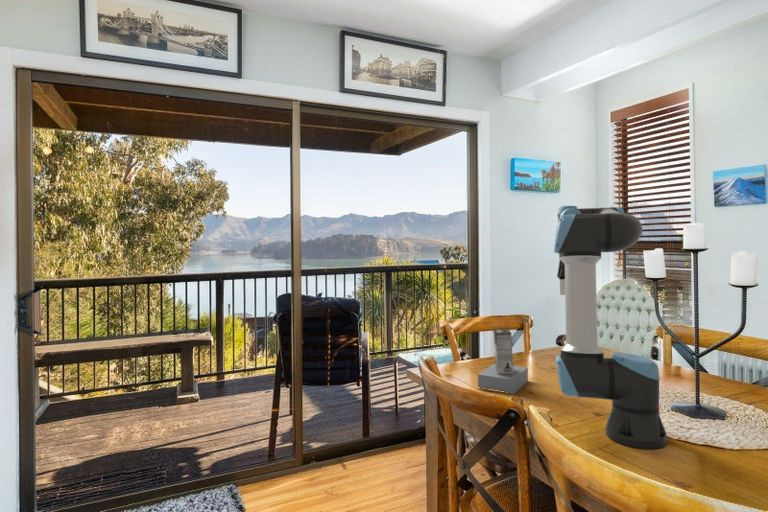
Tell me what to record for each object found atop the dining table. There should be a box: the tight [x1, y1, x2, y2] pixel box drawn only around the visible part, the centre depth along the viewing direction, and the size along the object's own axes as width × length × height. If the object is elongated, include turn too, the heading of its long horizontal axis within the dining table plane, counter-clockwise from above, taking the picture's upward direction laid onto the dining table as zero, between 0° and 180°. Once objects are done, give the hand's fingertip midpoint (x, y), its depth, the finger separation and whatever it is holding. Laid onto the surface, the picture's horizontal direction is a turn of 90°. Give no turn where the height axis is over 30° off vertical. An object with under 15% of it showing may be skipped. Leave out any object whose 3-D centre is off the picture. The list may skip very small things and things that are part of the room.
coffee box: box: [492, 328, 514, 374], centre depth 178 cm, size 9×6×16 cm
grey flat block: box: [477, 362, 529, 395], centre depth 179 cm, size 20×14×6 cm
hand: (568, 296), depth 182 cm, fingers open, 13 cm apart
